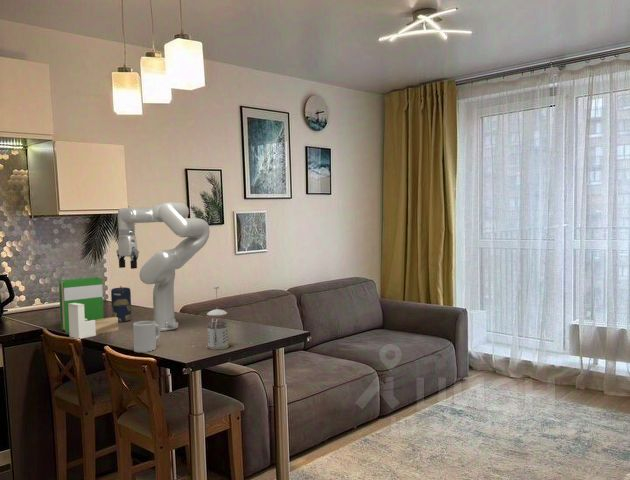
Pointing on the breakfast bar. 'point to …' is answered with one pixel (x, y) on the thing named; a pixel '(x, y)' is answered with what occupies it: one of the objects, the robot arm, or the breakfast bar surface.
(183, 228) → the robot arm
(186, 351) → the breakfast bar surface
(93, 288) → the hardback book
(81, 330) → the white stepped block
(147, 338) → the mug
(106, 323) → the light wood block
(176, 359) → the breakfast bar surface
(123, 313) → the canister
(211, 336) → the french press
